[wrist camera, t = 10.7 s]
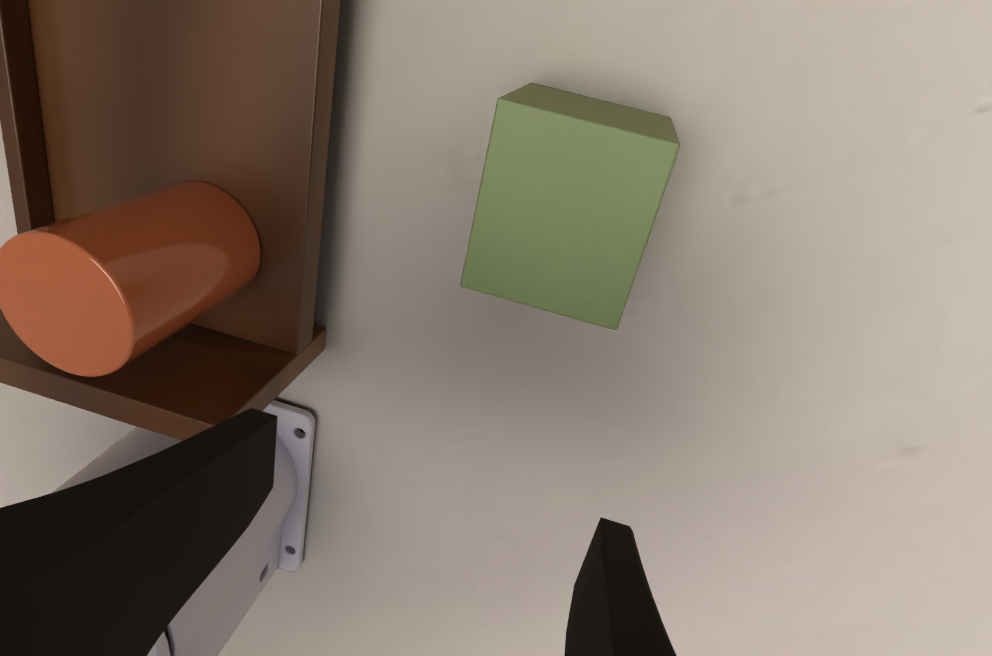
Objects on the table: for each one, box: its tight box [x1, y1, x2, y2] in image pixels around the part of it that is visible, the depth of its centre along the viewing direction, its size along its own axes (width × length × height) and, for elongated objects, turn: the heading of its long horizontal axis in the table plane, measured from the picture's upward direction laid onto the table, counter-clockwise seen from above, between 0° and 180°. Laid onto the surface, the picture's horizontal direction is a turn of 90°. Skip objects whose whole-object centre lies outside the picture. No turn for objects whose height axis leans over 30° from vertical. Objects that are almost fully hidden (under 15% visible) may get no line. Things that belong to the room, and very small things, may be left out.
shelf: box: [0, 0, 341, 441], centre depth 18 cm, size 10×18×7 cm, turn 168°
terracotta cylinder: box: [0, 181, 261, 377], centre depth 18 cm, size 4×4×6 cm
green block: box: [460, 83, 680, 330], centre depth 18 cm, size 5×4×5 cm
